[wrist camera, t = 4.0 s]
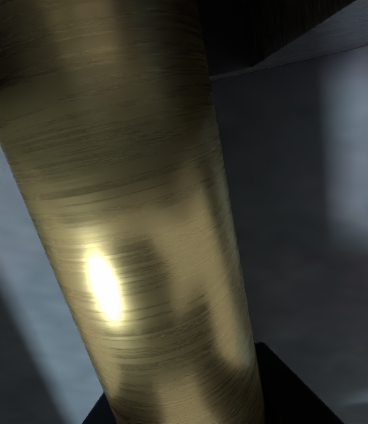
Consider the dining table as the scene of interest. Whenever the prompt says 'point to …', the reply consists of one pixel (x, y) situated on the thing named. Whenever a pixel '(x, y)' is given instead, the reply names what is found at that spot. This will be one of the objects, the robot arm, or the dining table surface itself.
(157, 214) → the pin
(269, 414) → the robot arm
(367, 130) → the dining table surface
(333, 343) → the dining table surface
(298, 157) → the dining table surface
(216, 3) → the block
